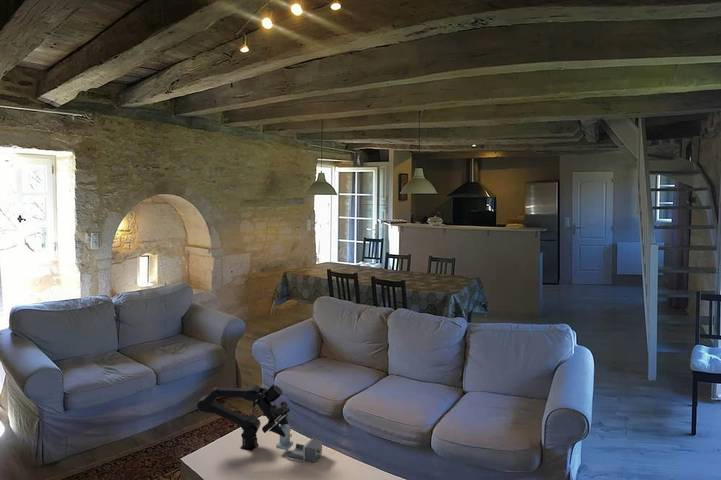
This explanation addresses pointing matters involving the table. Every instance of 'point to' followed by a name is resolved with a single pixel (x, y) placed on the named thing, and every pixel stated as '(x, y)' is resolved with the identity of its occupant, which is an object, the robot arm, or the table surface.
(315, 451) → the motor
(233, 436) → the table surface
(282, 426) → the blue-grey knob on base
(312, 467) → the table surface
